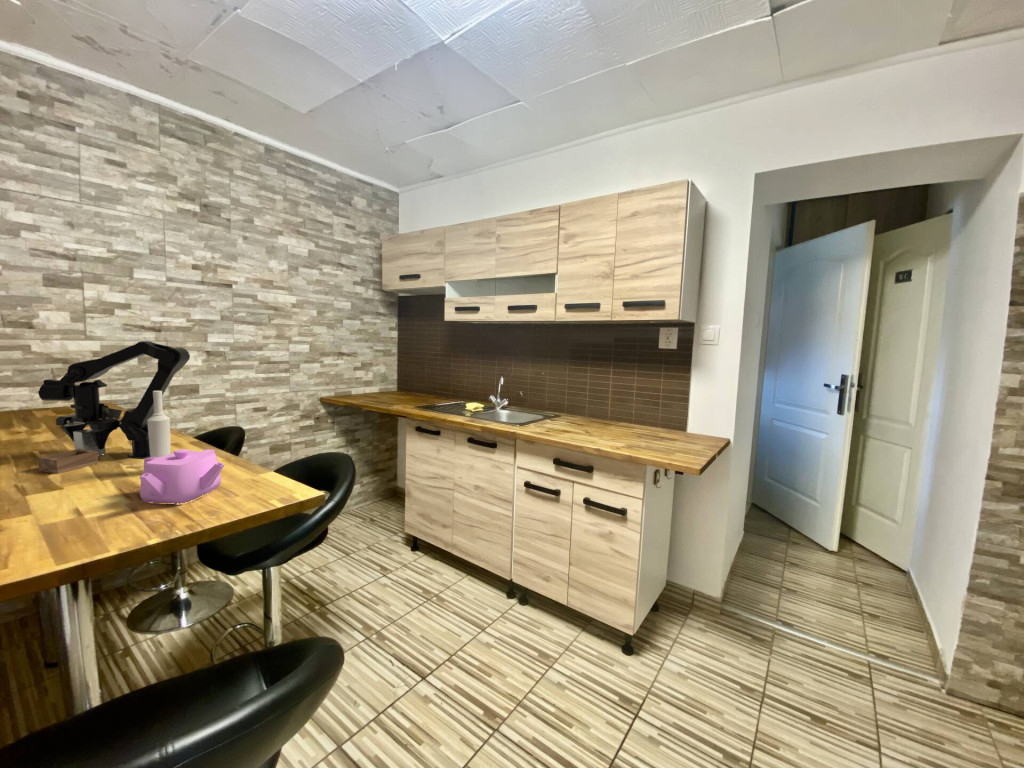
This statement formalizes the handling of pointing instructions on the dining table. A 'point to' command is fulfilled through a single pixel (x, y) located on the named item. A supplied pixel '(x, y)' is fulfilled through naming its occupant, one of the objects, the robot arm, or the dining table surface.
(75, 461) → the post block
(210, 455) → the teakettle
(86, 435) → the light grey squat block
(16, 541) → the dining table surface
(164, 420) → the bottle
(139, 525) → the dining table surface
